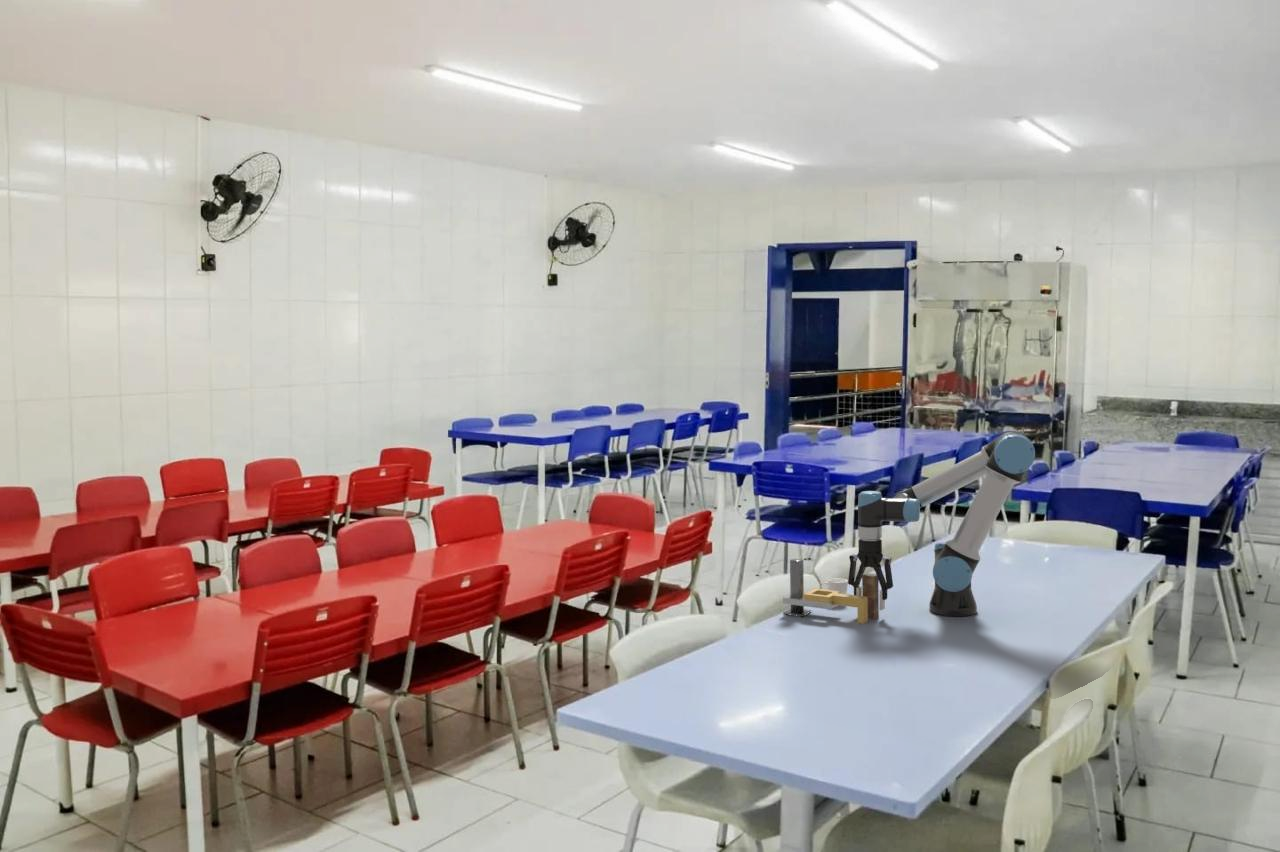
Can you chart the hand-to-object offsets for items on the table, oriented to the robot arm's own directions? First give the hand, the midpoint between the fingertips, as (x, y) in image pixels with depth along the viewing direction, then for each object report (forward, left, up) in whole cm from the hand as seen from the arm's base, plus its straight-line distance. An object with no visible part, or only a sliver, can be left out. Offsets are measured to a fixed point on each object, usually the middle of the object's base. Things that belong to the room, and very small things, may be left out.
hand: (870, 607), depth 346 cm
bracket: (+9, +7, -3) cm, 12 cm away
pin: (0, 0, -3) cm, 3 cm away
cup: (+18, -12, -3) cm, 22 cm away
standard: (+18, +7, -3) cm, 19 cm away
